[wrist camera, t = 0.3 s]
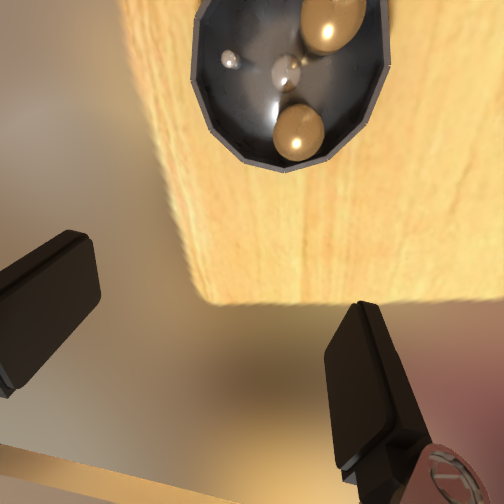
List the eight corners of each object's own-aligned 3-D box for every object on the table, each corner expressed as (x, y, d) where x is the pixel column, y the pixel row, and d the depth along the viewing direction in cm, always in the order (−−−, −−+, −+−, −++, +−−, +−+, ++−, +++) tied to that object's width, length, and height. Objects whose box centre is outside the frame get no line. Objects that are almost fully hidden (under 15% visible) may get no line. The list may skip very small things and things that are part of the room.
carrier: (212, -75, 25) (191, -117, 20) (416, -25, 25) (448, -53, 20) (195, 143, 36) (178, 153, 31) (337, 178, 36) (344, 194, 31)
